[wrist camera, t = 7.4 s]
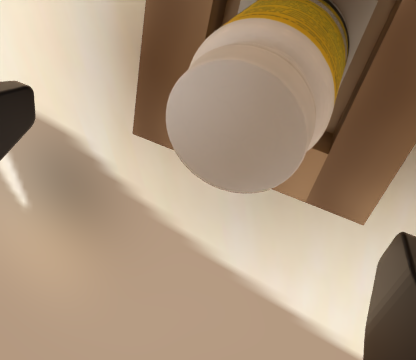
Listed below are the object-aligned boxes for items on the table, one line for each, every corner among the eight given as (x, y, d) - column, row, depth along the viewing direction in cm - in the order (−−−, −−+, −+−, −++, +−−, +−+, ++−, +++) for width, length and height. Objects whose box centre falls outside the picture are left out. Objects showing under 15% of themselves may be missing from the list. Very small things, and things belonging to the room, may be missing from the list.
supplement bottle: (253, -29, 16) (160, 14, 9) (370, 2, 15) (357, 73, 9) (229, 82, 19) (146, 173, 12) (326, 113, 18) (291, 228, 11)
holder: (526, -81, 13) (556, -80, 11) (366, 189, 21) (363, 225, 18) (198, -164, 15) (163, -177, 13) (158, 110, 22) (132, 133, 20)
